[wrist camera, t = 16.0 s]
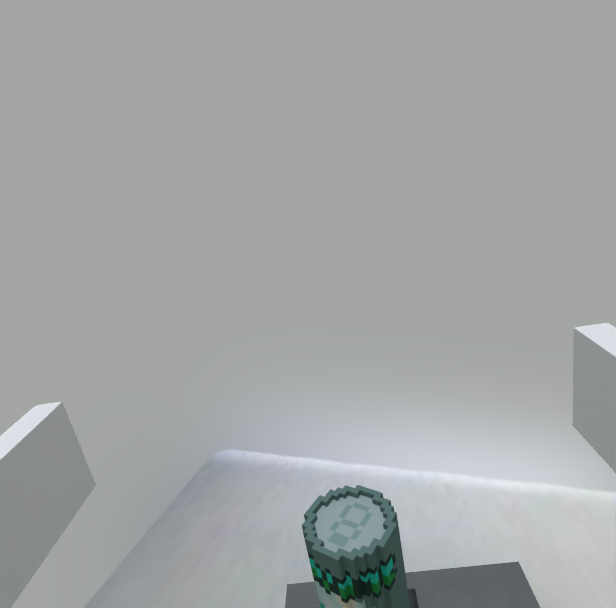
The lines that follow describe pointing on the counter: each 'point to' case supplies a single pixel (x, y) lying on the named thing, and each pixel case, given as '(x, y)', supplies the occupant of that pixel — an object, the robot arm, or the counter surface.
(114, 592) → the counter surface
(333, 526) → the can
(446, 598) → the grey slab with hole
